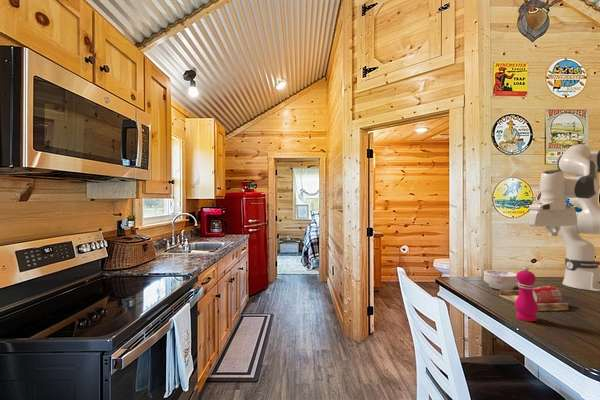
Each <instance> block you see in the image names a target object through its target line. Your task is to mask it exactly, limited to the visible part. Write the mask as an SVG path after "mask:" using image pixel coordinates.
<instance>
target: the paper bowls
mask: <svg viewBox="0 0 600 400" xmlns="http://www.w3.org/2000/svg"><path fill="white" fill-rule="evenodd" d="M516 275H517V273H515V272H512V271H511V272H510V271H505V270H494V269H491V270H490V269H488V270H484V271H483V281H484V282H486V283H487V284H488V286H489V287H490V288H492V289H494V290H498V291H499V290H514V288H515V287H518V283H519V281H518V280H517V278H516Z"/></svg>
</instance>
